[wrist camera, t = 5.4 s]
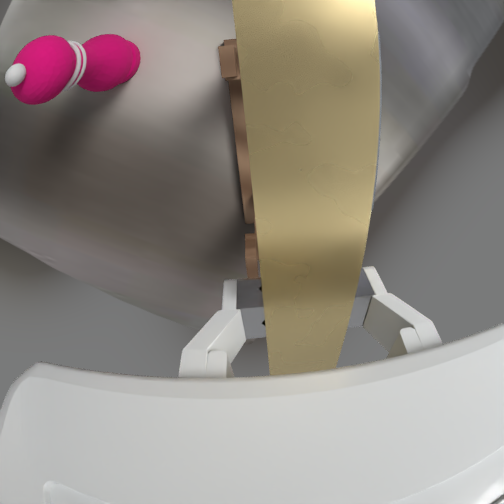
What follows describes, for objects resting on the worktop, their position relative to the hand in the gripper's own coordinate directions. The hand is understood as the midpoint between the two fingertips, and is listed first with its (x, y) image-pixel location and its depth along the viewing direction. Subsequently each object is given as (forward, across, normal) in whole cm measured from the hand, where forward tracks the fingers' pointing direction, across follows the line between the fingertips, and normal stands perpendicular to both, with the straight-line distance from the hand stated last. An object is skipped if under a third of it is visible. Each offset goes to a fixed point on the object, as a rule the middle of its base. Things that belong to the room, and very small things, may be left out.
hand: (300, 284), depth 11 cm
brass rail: (0, 0, 0) cm, 0 cm away
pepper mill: (+27, +17, -13) cm, 35 cm away
